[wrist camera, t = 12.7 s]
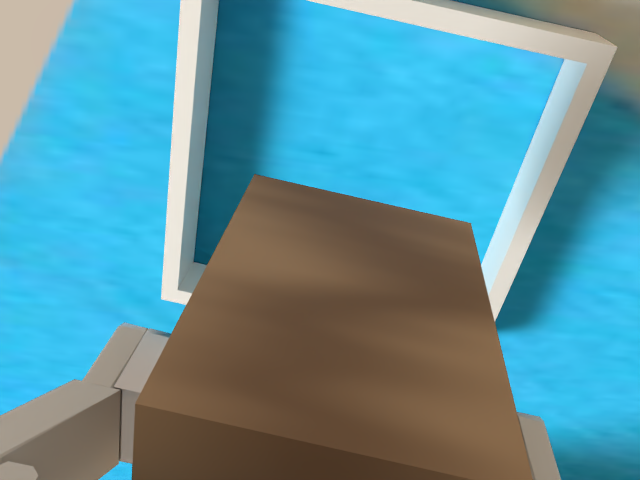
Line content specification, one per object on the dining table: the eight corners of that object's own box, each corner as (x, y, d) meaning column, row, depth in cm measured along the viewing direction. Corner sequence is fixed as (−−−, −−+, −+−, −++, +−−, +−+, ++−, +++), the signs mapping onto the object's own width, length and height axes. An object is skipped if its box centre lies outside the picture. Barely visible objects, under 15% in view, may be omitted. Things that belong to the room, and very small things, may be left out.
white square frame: (467, 336, 24) (473, 370, 22) (178, 270, 24) (161, 299, 22) (595, 33, 18) (617, 46, 16) (204, -56, 18) (184, -52, 16)
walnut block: (470, 223, 13) (536, 494, 7) (410, 381, 16) (421, 681, 10) (254, 174, 13) (135, 402, 7) (229, 341, 16) (125, 614, 10)
